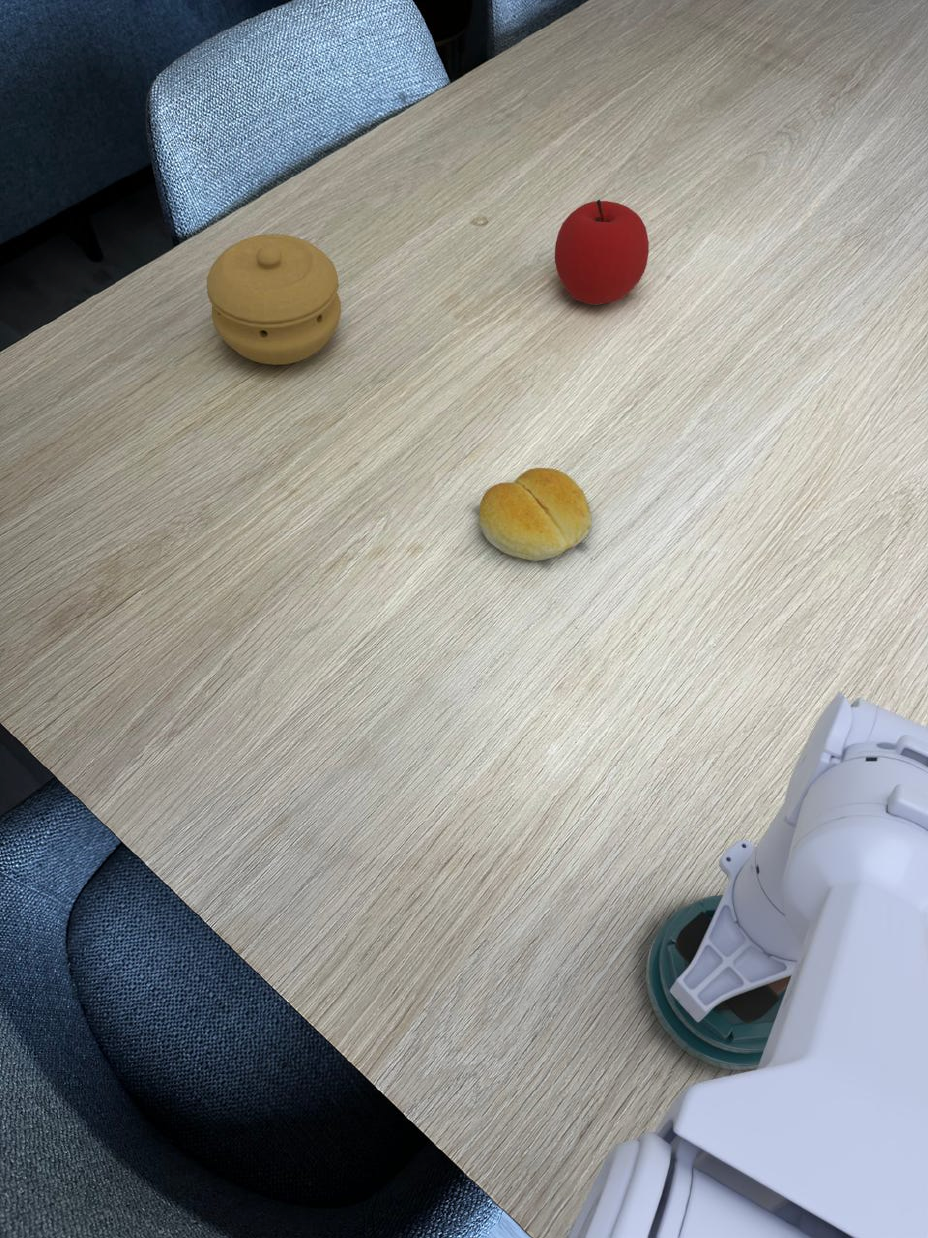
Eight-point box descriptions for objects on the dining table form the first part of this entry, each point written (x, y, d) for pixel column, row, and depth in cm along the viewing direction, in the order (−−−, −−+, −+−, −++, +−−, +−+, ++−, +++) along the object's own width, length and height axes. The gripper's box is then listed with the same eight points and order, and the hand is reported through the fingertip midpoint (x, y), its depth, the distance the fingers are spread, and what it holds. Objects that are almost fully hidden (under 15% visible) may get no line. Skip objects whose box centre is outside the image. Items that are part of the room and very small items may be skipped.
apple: (626, 328, 100) (644, 237, 92) (537, 306, 102) (547, 214, 94) (650, 274, 105) (669, 183, 97) (565, 253, 107) (576, 162, 99)
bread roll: (461, 512, 86) (462, 479, 83) (551, 474, 89) (556, 440, 85) (513, 581, 82) (517, 549, 78) (606, 539, 85) (613, 506, 81)
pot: (202, 319, 99) (181, 227, 91) (317, 289, 102) (308, 197, 94) (240, 397, 93) (222, 305, 85) (362, 362, 96) (356, 271, 88)
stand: (828, 1062, 61) (851, 1046, 58) (663, 1078, 61) (676, 1062, 57) (783, 899, 67) (801, 876, 64) (632, 911, 66) (642, 888, 63)
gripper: (845, 730, 54) (774, 837, 65) (647, 900, 48) (606, 986, 59) (959, 830, 51) (864, 924, 62) (762, 1023, 45) (696, 1089, 56)
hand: (744, 961), depth 60 cm, fingers closed on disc, 5 cm apart
